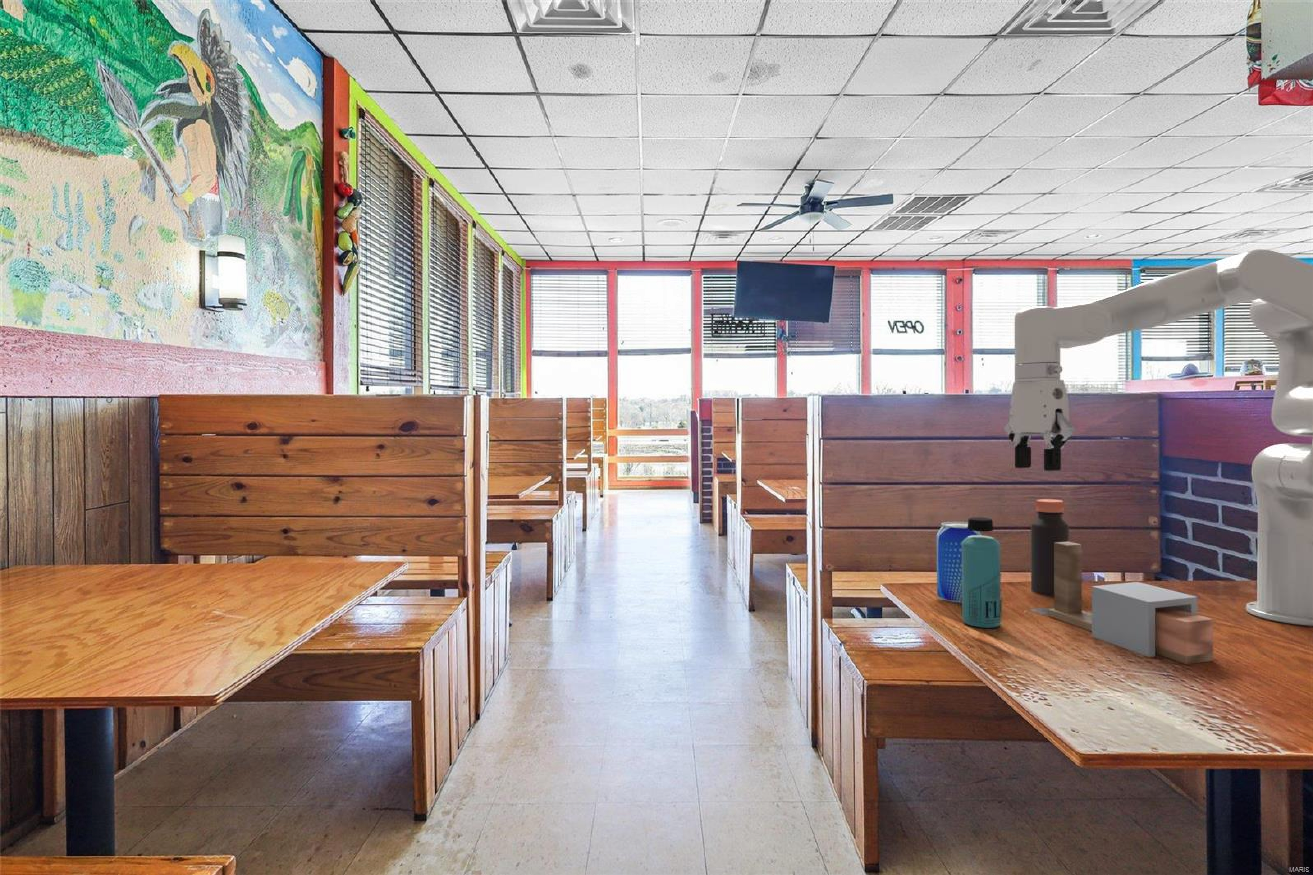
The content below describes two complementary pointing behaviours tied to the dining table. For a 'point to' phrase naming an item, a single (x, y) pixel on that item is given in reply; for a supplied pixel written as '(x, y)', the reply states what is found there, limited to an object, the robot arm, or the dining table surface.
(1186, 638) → the sled
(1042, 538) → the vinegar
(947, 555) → the beer can
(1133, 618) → the tunnel
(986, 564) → the beverage bottle
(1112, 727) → the dining table surface
